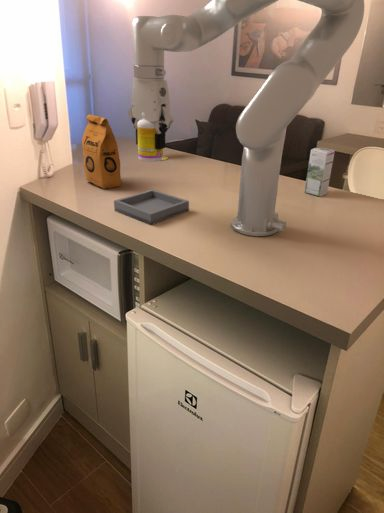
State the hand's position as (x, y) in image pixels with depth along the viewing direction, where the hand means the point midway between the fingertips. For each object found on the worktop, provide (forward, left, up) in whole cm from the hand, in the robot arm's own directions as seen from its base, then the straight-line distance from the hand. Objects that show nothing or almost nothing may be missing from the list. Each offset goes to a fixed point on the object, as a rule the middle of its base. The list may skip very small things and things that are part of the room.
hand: (150, 145), depth 111 cm
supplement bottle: (0, 0, -4) cm, 4 cm away
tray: (0, 0, -18) cm, 18 cm away
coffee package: (+30, -6, -19) cm, 36 cm away
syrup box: (-26, -50, -19) cm, 59 cm away
